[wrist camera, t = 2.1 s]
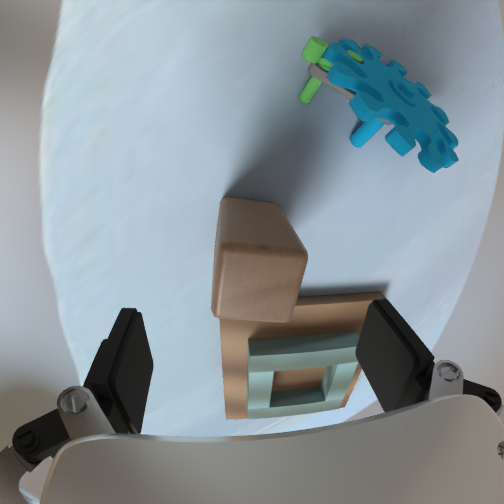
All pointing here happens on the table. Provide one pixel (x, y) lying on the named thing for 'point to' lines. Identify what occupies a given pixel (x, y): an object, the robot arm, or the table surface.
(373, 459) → the robot arm
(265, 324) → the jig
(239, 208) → the wooden block
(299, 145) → the table surface
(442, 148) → the gear
